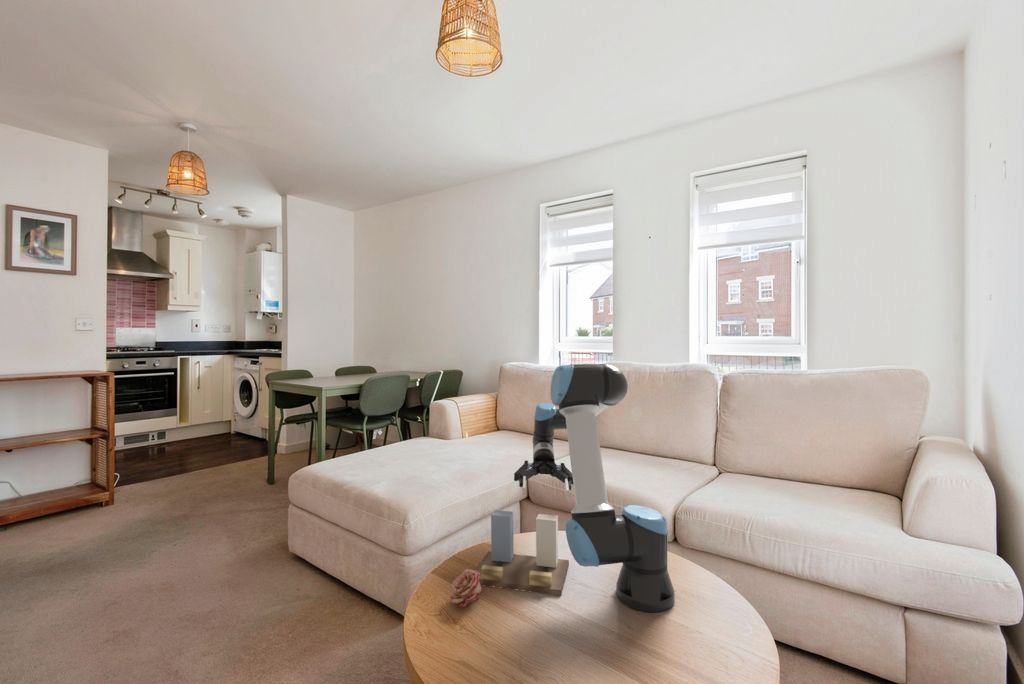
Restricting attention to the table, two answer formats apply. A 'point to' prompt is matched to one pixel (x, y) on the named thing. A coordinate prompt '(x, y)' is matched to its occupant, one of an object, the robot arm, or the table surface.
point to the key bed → (523, 574)
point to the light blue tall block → (502, 536)
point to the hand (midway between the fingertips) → (545, 492)
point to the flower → (466, 587)
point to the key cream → (547, 540)
